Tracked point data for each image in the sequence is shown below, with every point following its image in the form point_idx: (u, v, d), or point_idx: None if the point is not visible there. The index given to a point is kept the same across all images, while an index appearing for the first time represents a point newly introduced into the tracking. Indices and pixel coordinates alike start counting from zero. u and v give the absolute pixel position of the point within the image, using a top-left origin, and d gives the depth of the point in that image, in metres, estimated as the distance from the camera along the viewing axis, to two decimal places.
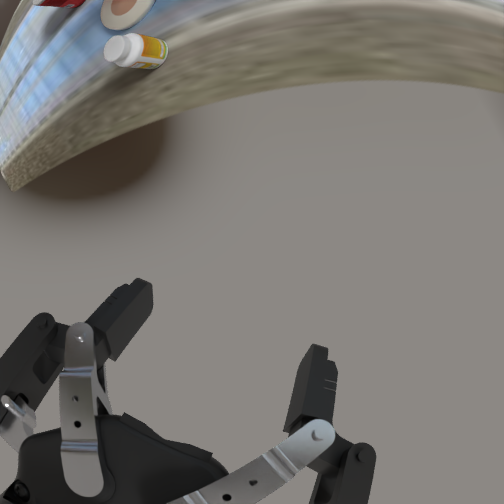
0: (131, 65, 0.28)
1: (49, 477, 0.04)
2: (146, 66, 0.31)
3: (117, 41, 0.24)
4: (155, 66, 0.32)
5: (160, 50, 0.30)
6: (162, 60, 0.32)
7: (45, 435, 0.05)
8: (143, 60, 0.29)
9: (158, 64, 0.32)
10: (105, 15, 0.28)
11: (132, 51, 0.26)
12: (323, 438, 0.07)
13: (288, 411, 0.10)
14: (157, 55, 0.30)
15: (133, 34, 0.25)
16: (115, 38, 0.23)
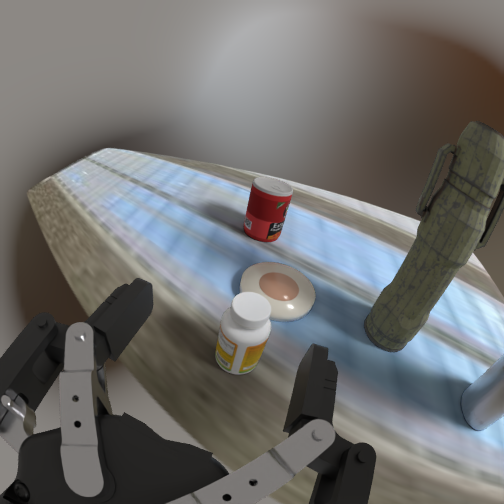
0: (228, 339, 0.27)
1: (49, 477, 0.04)
2: (225, 357, 0.29)
3: (262, 307, 0.27)
4: (225, 367, 0.30)
5: (251, 364, 0.29)
6: (236, 372, 0.30)
7: (45, 435, 0.05)
8: (238, 352, 0.27)
9: (229, 369, 0.30)
10: (253, 272, 0.44)
11: (252, 333, 0.27)
12: (323, 438, 0.07)
13: (288, 411, 0.10)
14: (245, 364, 0.29)
15: None
16: (264, 302, 0.28)
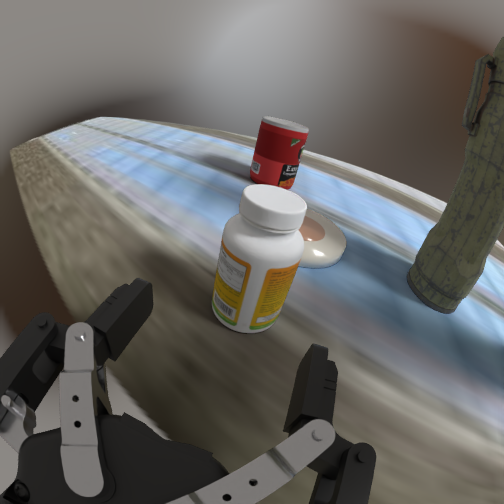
0: (236, 256, 0.16)
1: (49, 477, 0.04)
2: (228, 298, 0.18)
3: (293, 201, 0.16)
4: (227, 319, 0.19)
5: (271, 313, 0.19)
6: (246, 327, 0.19)
7: (45, 435, 0.05)
8: (252, 282, 0.17)
9: (234, 323, 0.19)
10: None
11: (276, 243, 0.16)
12: (323, 438, 0.07)
13: (288, 411, 0.10)
14: (261, 311, 0.18)
15: (302, 237, 0.18)
16: (295, 197, 0.17)
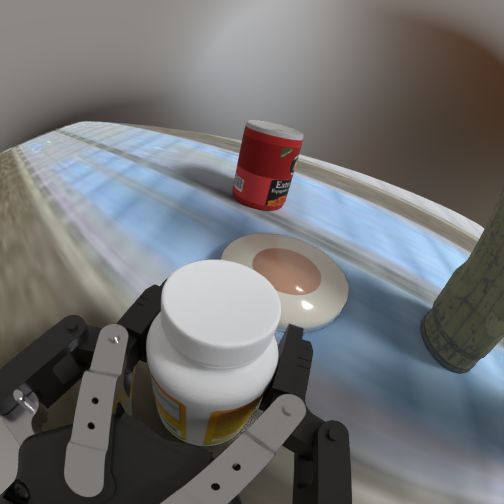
0: (162, 388, 0.09)
1: (45, 478, 0.04)
2: (168, 418, 0.11)
3: (256, 302, 0.09)
4: (174, 432, 0.12)
5: (231, 433, 0.11)
6: (199, 443, 0.12)
7: (45, 435, 0.05)
8: (192, 418, 0.09)
9: (183, 438, 0.11)
10: (243, 246, 0.26)
11: (224, 378, 0.08)
12: (293, 413, 0.08)
13: None
14: (215, 435, 0.11)
15: (275, 343, 0.11)
16: (262, 288, 0.09)
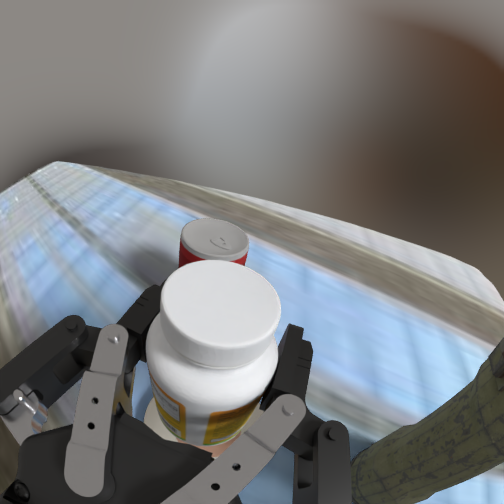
0: (161, 388, 0.09)
1: (45, 478, 0.04)
2: (167, 418, 0.11)
3: (256, 302, 0.09)
4: (173, 433, 0.12)
5: (231, 433, 0.11)
6: (198, 444, 0.12)
7: (45, 435, 0.05)
8: (191, 418, 0.09)
9: (183, 439, 0.11)
10: None
11: (223, 378, 0.08)
12: (293, 413, 0.08)
13: None
14: (214, 435, 0.11)
15: (275, 344, 0.11)
16: (262, 288, 0.09)
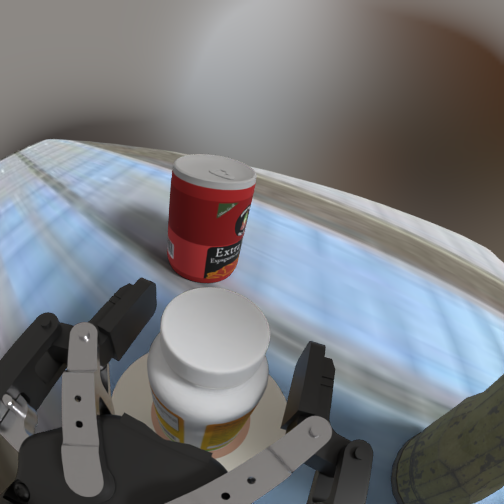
0: (162, 403, 0.09)
1: (48, 477, 0.04)
2: (167, 427, 0.11)
3: (247, 330, 0.10)
4: (172, 440, 0.12)
5: (225, 441, 0.12)
6: None
7: (45, 435, 0.05)
8: (189, 429, 0.10)
9: None
10: (146, 372, 0.17)
11: (218, 396, 0.09)
12: (320, 435, 0.07)
13: (285, 408, 0.10)
14: (210, 443, 0.11)
15: (266, 363, 0.11)
16: (253, 316, 0.10)
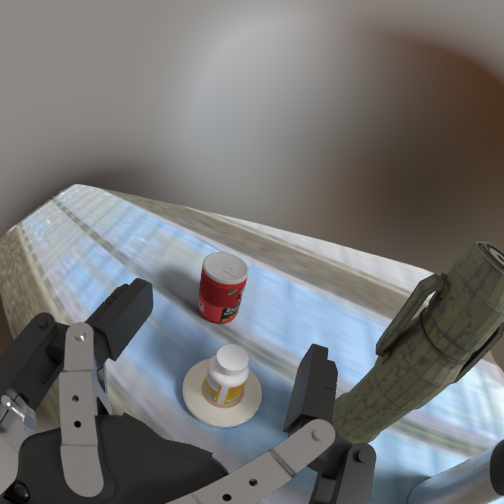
0: (214, 381, 0.32)
1: (49, 477, 0.04)
2: (212, 392, 0.33)
3: (241, 358, 0.32)
4: (212, 399, 0.34)
5: (234, 398, 0.34)
6: (222, 403, 0.34)
7: (45, 435, 0.05)
8: (222, 390, 0.32)
9: (216, 401, 0.34)
10: (197, 372, 0.39)
11: (233, 377, 0.31)
12: (323, 438, 0.07)
13: (288, 411, 0.10)
14: (228, 398, 0.34)
15: (248, 367, 0.34)
16: (243, 353, 0.32)
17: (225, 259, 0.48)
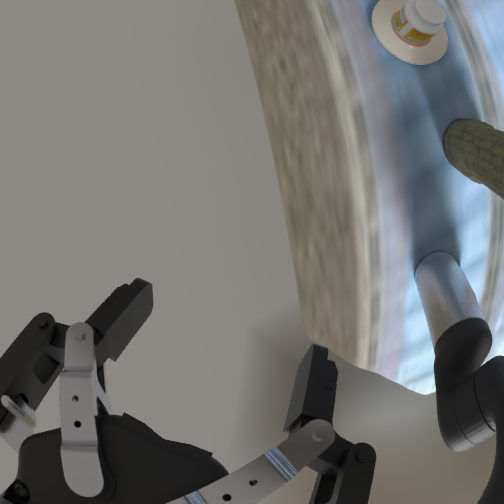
0: (404, 14, 0.19)
1: (49, 477, 0.04)
2: (398, 21, 0.21)
3: (438, 16, 0.15)
4: (396, 27, 0.23)
5: (414, 39, 0.22)
6: (402, 35, 0.24)
7: (45, 435, 0.05)
8: (407, 25, 0.20)
9: (398, 30, 0.23)
10: (399, 1, 0.21)
11: (421, 23, 0.18)
12: (323, 438, 0.07)
13: (288, 411, 0.10)
14: (409, 35, 0.22)
15: (441, 28, 0.17)
16: (442, 15, 0.15)
17: None
